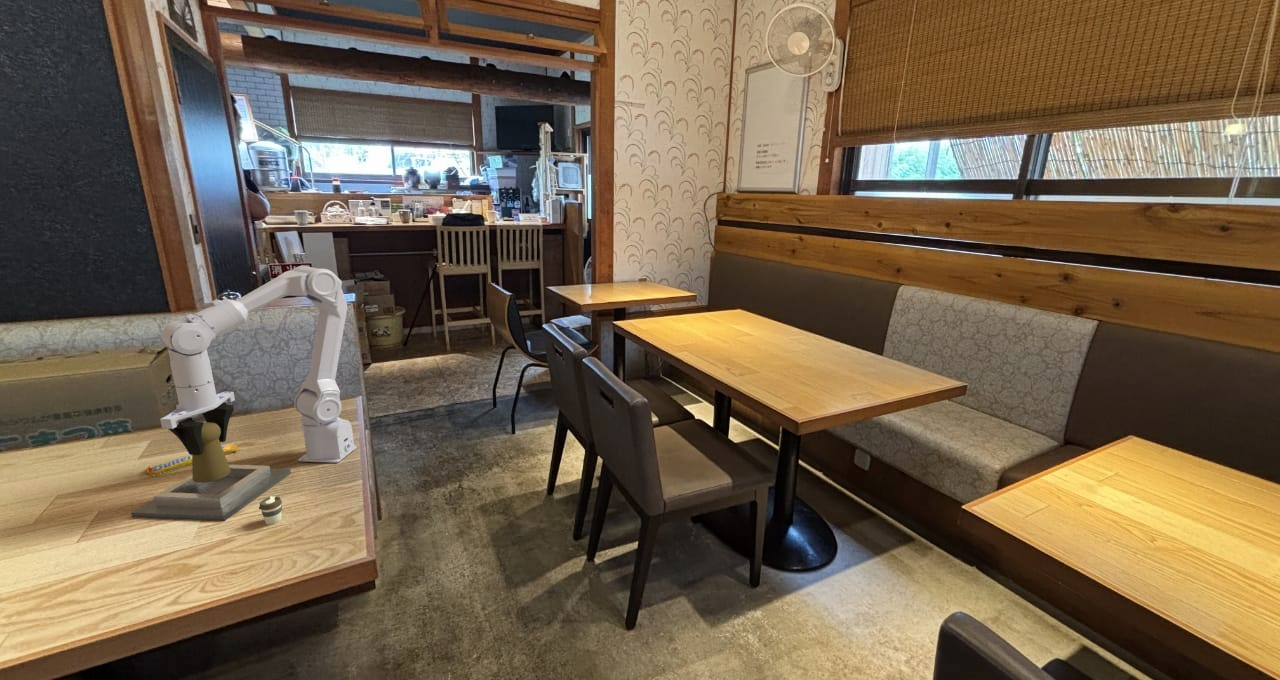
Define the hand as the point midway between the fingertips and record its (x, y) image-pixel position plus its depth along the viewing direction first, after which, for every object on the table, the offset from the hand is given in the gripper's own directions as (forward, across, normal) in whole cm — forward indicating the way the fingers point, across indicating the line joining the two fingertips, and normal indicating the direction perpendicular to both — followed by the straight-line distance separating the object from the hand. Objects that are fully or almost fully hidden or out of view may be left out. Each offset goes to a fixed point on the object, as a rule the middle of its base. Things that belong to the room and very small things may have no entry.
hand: (208, 447), depth 104 cm
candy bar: (+11, -13, -16) cm, 23 cm away
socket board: (+10, 0, 0) cm, 10 cm away
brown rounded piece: (+6, 0, -1) cm, 6 cm away
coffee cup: (+11, +8, +18) cm, 23 cm away
